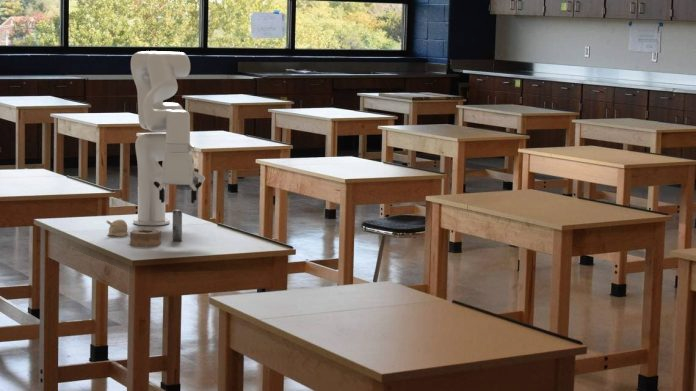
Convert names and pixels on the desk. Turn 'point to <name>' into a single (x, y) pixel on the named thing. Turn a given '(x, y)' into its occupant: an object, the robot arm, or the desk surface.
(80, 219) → the desk surface
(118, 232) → the decorative ornament
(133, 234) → the bead
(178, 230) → the grey square post
